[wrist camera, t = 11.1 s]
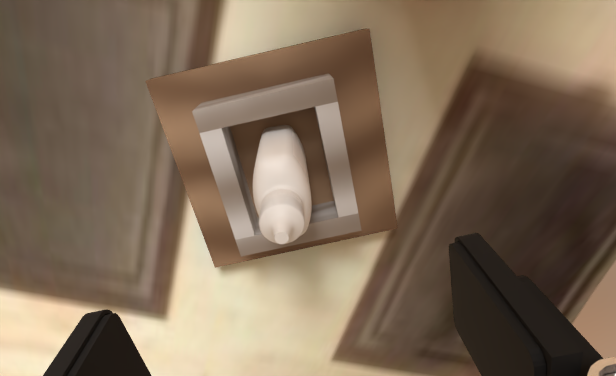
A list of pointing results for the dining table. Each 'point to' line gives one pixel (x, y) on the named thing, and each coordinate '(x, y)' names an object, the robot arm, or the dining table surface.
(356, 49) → the bottle stand
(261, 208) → the eye dropper bottle
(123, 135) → the dining table surface
